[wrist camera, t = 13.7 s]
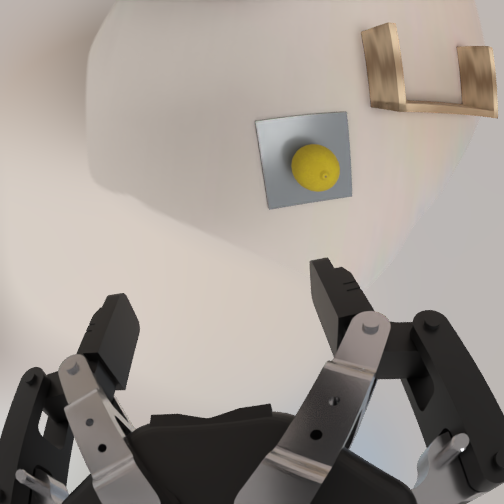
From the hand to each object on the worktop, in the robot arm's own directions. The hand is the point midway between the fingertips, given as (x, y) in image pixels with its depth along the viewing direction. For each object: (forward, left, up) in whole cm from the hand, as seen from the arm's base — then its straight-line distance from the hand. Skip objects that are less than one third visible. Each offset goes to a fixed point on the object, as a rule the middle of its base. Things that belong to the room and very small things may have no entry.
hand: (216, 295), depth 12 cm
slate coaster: (+2, +11, -28) cm, 30 cm away
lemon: (+2, +11, -28) cm, 30 cm away
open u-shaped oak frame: (-10, +30, -28) cm, 43 cm away
